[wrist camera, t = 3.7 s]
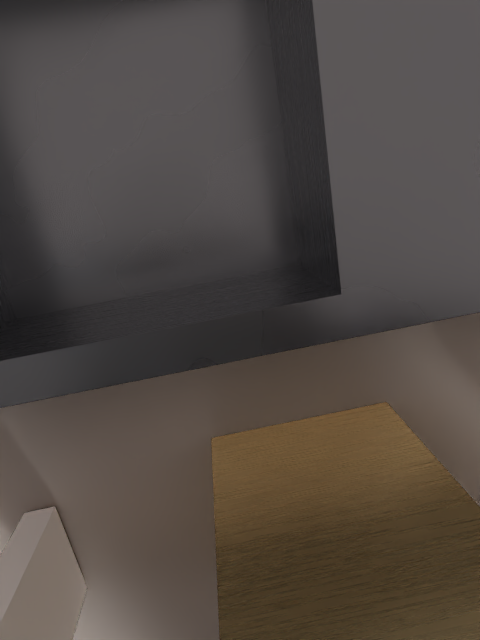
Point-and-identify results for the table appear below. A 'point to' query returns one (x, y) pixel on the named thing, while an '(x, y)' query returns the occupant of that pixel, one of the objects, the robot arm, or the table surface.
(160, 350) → the grey slotted tray
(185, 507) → the table surface
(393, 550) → the block
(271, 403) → the table surface
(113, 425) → the table surface
